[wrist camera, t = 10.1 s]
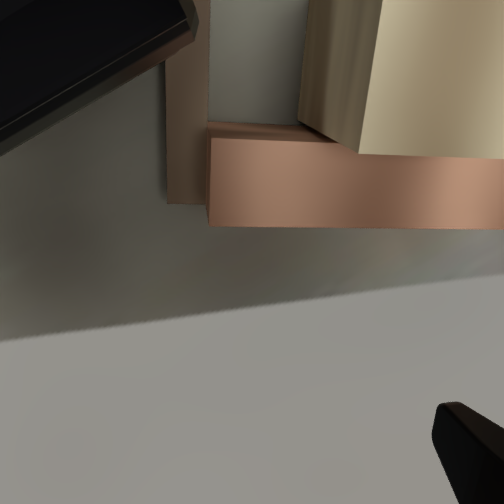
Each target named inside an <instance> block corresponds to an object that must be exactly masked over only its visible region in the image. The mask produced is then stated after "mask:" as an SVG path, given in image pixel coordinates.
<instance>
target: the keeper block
mask: <svg viewBox="0 0 504 504" xmlns="http://www.w3.org/2000/svg"><path fill="white" fill-rule="evenodd" d="M297 120H299V121H301V122H303V123H304V124H306V125H308V126H310V127H311V128H313V129H315V130H317V131H319V132H320V133H322V134H324V135H326V136H328V137H329V138H331V139H333V140H335V141H337V142H338V143H340V144H342V145H344V146H345V147H347V148H349V149H351V150H353V151H354V152H356V153H358V154H380V155H406V156H433V157H460V158H487V159H504V0H309V7H308V17H307V27H306V37H305V47H304V57H303V67H302V77H301V86H300V96H299V106H298V116H297Z"/></svg>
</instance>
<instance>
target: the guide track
mask: <svg viewBox="0 0 504 504" xmlns="http://www.w3.org/2000/svg"><path fill="white" fill-rule="evenodd" d="M193 2H194V5H195V7H196V11H197V14H198V18H199V25H198V29H197V33H196V37H195V41H194V42H192V43H190V44H189V45H187V46H185V47H183V48H182V49H180V50H178V53H176V54H174V55H173V56H171V57H169V58H168V59H166V60H165V74H166V149H167V204H206V210H207V216H208V223H209V226H212V227H309V228H407V229H504V159H487V158H460V157H433V156H406V155H380V154H358V153H356V152H354V151H353V150H351V149H349V148H347V147H345V146H344V145H342V144H340V143H338V142H337V141H335V140H333V139H331V138H329V137H328V136H326V135H324V134H322V133H320V132H319V131H317V130H315V129H313V128H311V127H310V126H295V125H274V124H253V123H232V122H210V121H208V82H209V39H210V0H193Z"/></svg>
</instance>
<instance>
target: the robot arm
mask: <svg viewBox="0 0 504 504" xmlns="http://www.w3.org/2000/svg"><path fill="white" fill-rule="evenodd" d="M198 25H199V18H198V14H197V11H196V7H195V5H194V2H193V0H0V157H1V156H2V155H4V154H6V153H7V152H9V151H11V150H12V149H14V148H16V147H18V146H19V145H21V144H23V143H24V142H26V141H28V140H29V139H31V138H33V137H35V136H36V135H38V134H40V133H41V132H43V131H45V130H47V129H48V128H50V127H52V126H53V125H55V124H57V123H58V122H60V121H62V120H64V119H65V118H67V117H69V116H70V115H72V114H74V113H76V112H77V111H79V110H81V109H82V108H84V107H86V106H87V105H89V104H91V103H93V102H94V101H96V100H98V99H99V98H101V97H103V96H104V95H106V94H108V93H110V92H111V91H113V90H115V89H116V88H118V87H120V86H122V85H123V84H125V83H127V82H128V81H130V80H132V79H133V78H135V77H137V76H139V75H140V74H142V73H144V72H145V71H147V70H149V69H150V68H152V67H154V66H156V65H157V64H159V63H161V62H162V61H164V60H166V59H168V58H169V57H171V56H173V55H174V54H176V53H178V50H180V49H182V48H183V47H185V46H187V45H189V44H190V43H192V42H194V41H195V37H196V33H197V29H198ZM432 441H433V445H434V447H435V450H436V452H437V454H438V457H439V459H440V461H441V464H442V466H443V468H444V470H445V473H446V475H447V477H448V480H449V482H450V484H451V486H452V489H453V491H454V494H455V496H456V498H457V500H458V502H459V504H504V428H502V427H500V426H499V425H497V424H495V423H493V422H492V421H491V420H489V419H487V418H486V417H484V416H482V415H481V414H479V413H477V412H476V411H474V410H472V409H471V408H469V407H467V406H466V405H464V404H462V403H460V402H447V403H441V404H439V405H438V407H437V409H436V414H435V419H434V424H433V429H432Z"/></svg>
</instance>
